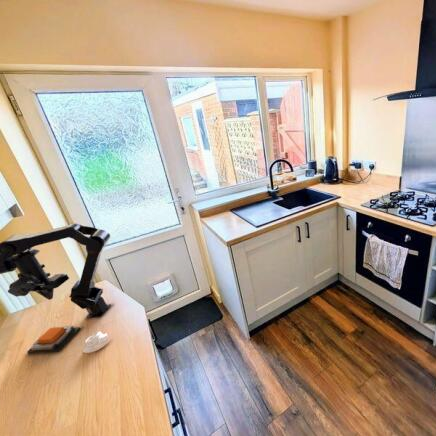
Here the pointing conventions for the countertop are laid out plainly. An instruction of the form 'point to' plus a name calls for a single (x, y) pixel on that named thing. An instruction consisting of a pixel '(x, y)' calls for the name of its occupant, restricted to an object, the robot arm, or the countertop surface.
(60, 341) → the mount plate
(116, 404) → the countertop surface
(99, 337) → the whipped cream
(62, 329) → the orange block
